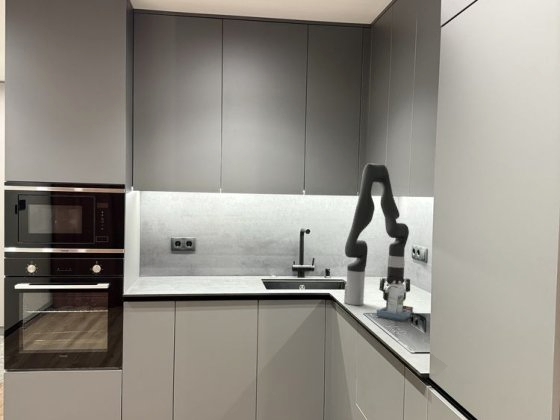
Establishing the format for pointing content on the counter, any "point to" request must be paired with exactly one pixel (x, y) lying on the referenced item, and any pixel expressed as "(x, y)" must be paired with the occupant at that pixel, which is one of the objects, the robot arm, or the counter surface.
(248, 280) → the counter surface
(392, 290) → the syrup box
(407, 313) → the slate tray
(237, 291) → the counter surface
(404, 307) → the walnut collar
